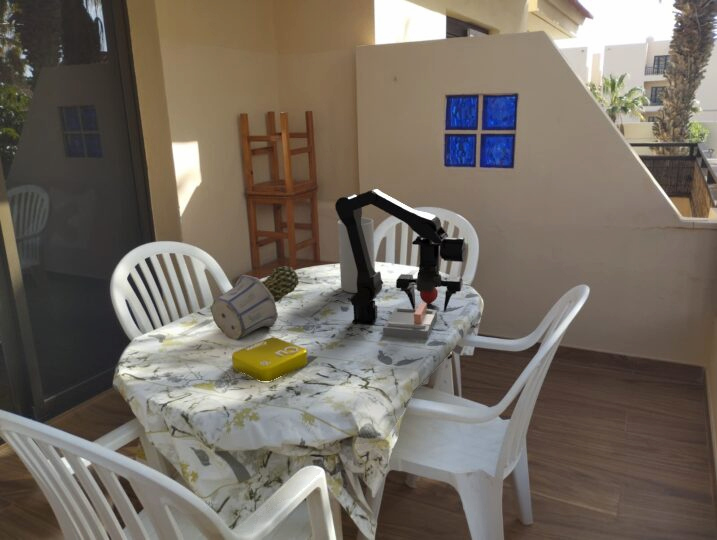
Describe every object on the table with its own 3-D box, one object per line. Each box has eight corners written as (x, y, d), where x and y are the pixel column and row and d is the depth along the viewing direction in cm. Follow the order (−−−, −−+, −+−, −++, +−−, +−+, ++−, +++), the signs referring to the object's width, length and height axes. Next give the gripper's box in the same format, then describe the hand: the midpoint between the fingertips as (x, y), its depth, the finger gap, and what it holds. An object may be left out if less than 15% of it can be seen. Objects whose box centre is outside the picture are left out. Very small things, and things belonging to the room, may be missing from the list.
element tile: (274, 349, 160) (272, 334, 159) (310, 364, 151) (309, 348, 149) (229, 369, 150) (228, 352, 149) (266, 386, 140) (264, 368, 139)
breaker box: (383, 335, 166) (382, 325, 165) (396, 314, 182) (395, 305, 181) (427, 339, 163) (427, 328, 162) (436, 317, 178) (436, 307, 177)
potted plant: (236, 301, 156) (307, 252, 176) (196, 293, 167) (267, 247, 187) (255, 353, 164) (321, 300, 183) (216, 342, 175) (282, 293, 195)
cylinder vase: (335, 286, 212) (332, 220, 205) (366, 281, 217) (363, 216, 210) (349, 296, 201) (346, 226, 194) (381, 290, 206) (379, 222, 199)
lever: (414, 323, 166) (413, 314, 165) (420, 311, 175) (420, 302, 175) (420, 323, 166) (420, 314, 165) (426, 311, 175) (426, 302, 174)
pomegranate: (431, 308, 186) (431, 285, 184) (416, 305, 189) (416, 282, 187) (440, 303, 190) (440, 280, 188) (425, 300, 194) (425, 277, 192)
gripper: (391, 265, 160) (392, 317, 164) (458, 268, 155) (457, 322, 159) (399, 255, 170) (400, 304, 174) (463, 257, 165) (462, 308, 169)
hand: (429, 310), depth 169 cm, fingers open, 9 cm apart
